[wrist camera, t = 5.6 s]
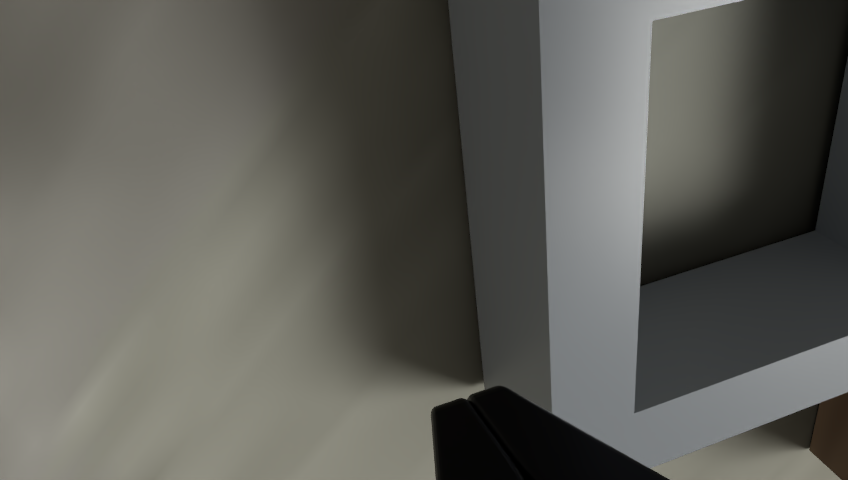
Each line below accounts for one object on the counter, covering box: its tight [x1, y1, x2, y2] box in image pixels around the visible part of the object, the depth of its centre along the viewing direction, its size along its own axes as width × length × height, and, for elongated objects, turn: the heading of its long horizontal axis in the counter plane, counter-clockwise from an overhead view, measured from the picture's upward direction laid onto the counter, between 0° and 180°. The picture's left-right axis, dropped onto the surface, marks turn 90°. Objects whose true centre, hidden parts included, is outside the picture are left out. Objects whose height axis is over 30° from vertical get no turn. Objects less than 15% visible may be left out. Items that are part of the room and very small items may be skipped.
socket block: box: [448, 0, 848, 468], centre depth 13 cm, size 10×10×3 cm
